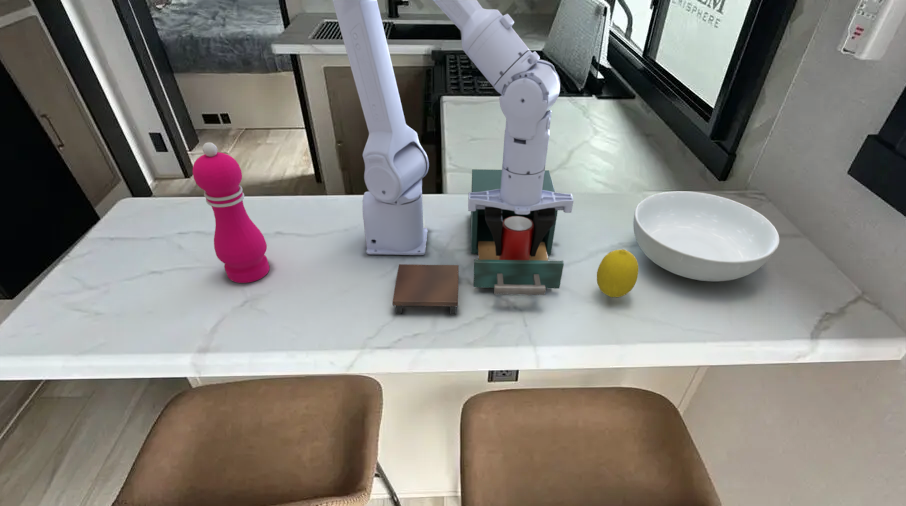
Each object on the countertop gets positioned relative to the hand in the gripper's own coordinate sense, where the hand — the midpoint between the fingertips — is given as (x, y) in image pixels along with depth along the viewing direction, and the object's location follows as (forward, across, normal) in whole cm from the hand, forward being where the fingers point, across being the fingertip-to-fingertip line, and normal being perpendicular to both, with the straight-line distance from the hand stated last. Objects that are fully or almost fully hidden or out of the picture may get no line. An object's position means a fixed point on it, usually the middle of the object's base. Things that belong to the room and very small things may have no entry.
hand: (514, 252), depth 77 cm
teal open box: (+3, 0, +11) cm, 12 cm away
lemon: (+4, +14, -6) cm, 16 cm away
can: (+2, 0, 0) cm, 2 cm away
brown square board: (+3, -13, -6) cm, 15 cm away
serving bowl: (+4, +29, +4) cm, 30 cm away
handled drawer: (+3, 0, -2) cm, 3 cm away
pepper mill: (+4, -41, -1) cm, 41 cm away
